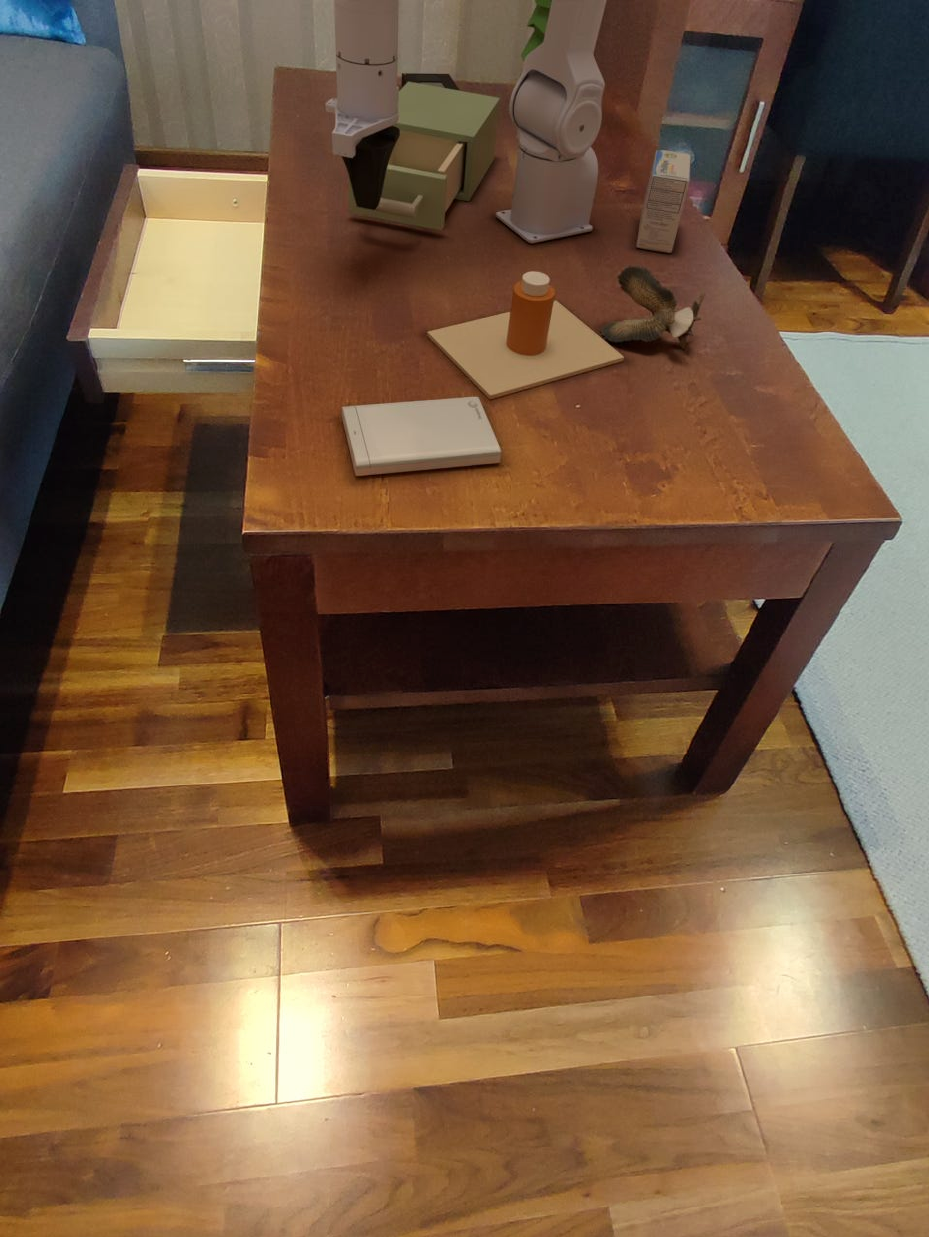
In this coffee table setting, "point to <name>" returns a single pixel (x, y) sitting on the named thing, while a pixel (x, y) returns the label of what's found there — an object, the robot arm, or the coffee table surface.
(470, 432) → the hard drive
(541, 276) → the bottle
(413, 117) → the cabinet
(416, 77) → the vhs tape
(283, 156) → the coffee table surface
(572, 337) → the mat
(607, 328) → the eagle figurine
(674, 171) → the medicine box
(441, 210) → the drawer
